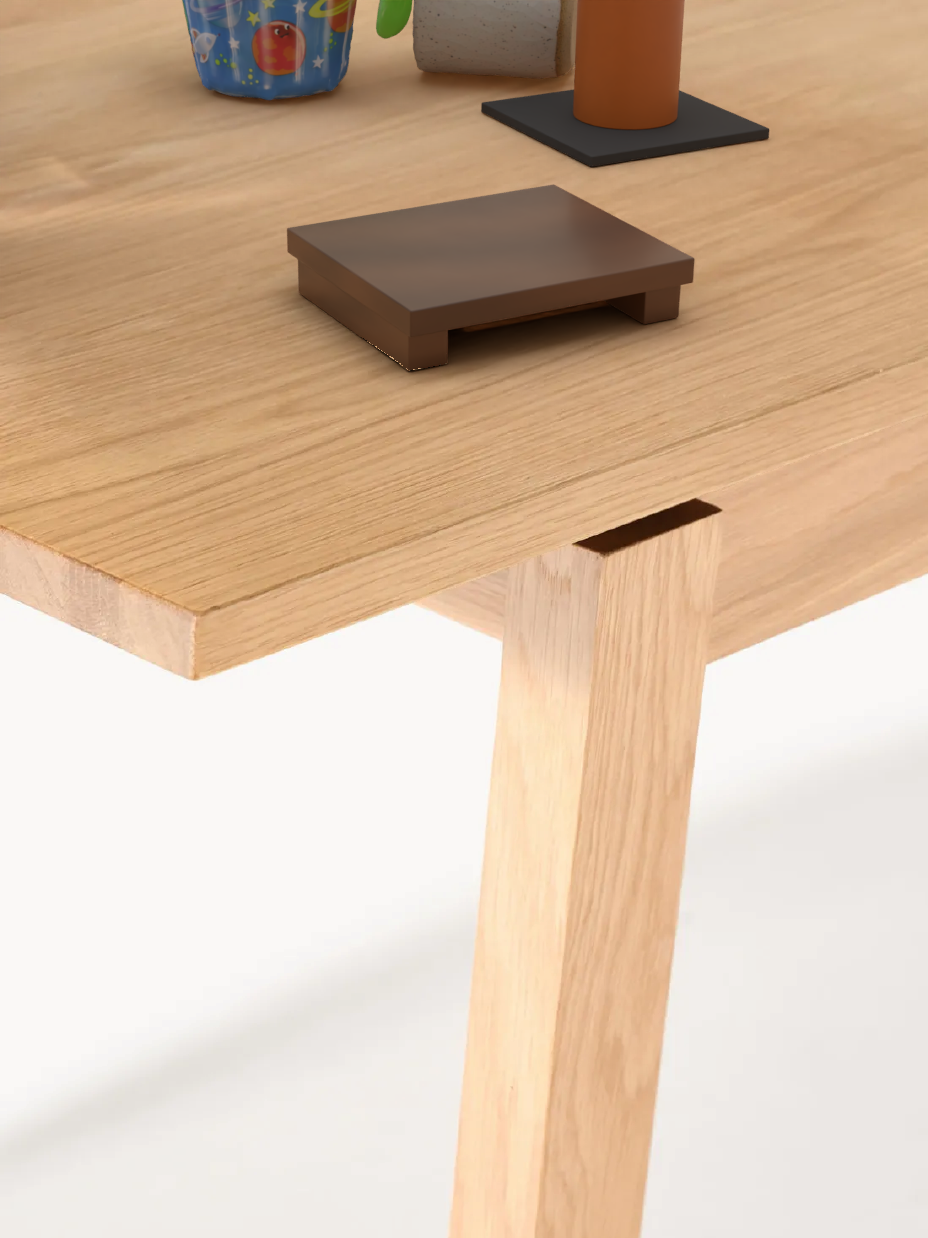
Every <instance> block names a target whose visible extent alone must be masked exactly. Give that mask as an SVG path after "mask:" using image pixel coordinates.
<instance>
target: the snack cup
mask: <svg viewBox="0 0 928 1238" xmlns="http://www.w3.org/2000/svg"><path fill="white" fill-rule="evenodd" d="M181 1H182V2H181V3H182V7H183V12H184V18H185V23H186V26H187V27H186V28H187V32H188V36H189V39H190V40H189V41H190V44H191V52H192V57H193V59H194V62H195V63H194V64H195V67H196V70H197V74H198V76H199V78H200V80H201V84H202V86H203V87H204V88H206V89H207V90H208V91H215V92H217V93H220V94H222V95H226V96H230V97H232V98H233V97H234V98H247V99H248V98H250V99H261V100H265V101H272V100H284V99H290V98H292V99H293V98H294V99H295V98H301V97H309V96H314V95H317V94H320V93H328V92H332V91H334V90H335V88H337V87H338V86H339V83H340V82H341V81H342V80H343V79H344V78H345V76H346V75H347V72H348V68H349V64H350V55H351V54H350V53H351V49H352V48H351V47H352V46H351V45H352V40H353V34H354V23H355V22H354V21H355V15H356V14H355V13H356V9H357V2H358V0H181ZM412 11H413V0H379V2H378V8H377V14H376V22H375V30H376V33H377V35H378V36H379V37H380V38H382V39H383V40H386V39H390V38H392V37H394V36H398V34H400V33H401V32H402V31H403V30H404V29H405V27H406V26H407V24H408V22H409V20H410V16H411V13H412Z"/></svg>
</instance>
